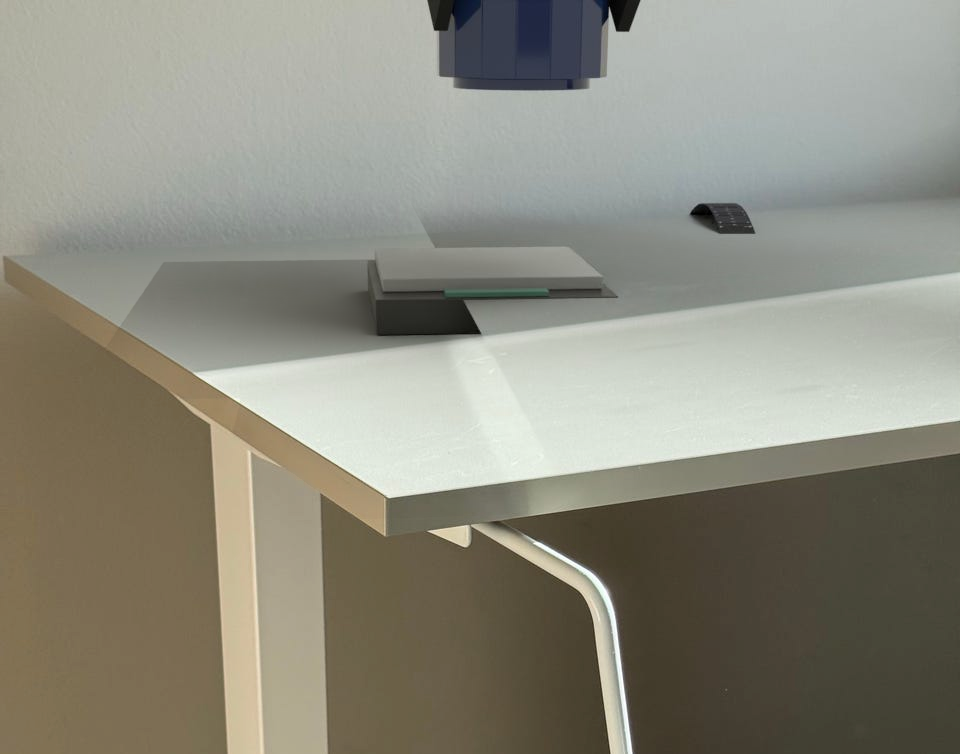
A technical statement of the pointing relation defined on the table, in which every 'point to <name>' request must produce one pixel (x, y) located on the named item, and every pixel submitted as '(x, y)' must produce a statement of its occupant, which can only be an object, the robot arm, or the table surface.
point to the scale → (469, 284)
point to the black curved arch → (727, 217)
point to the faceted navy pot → (524, 44)
